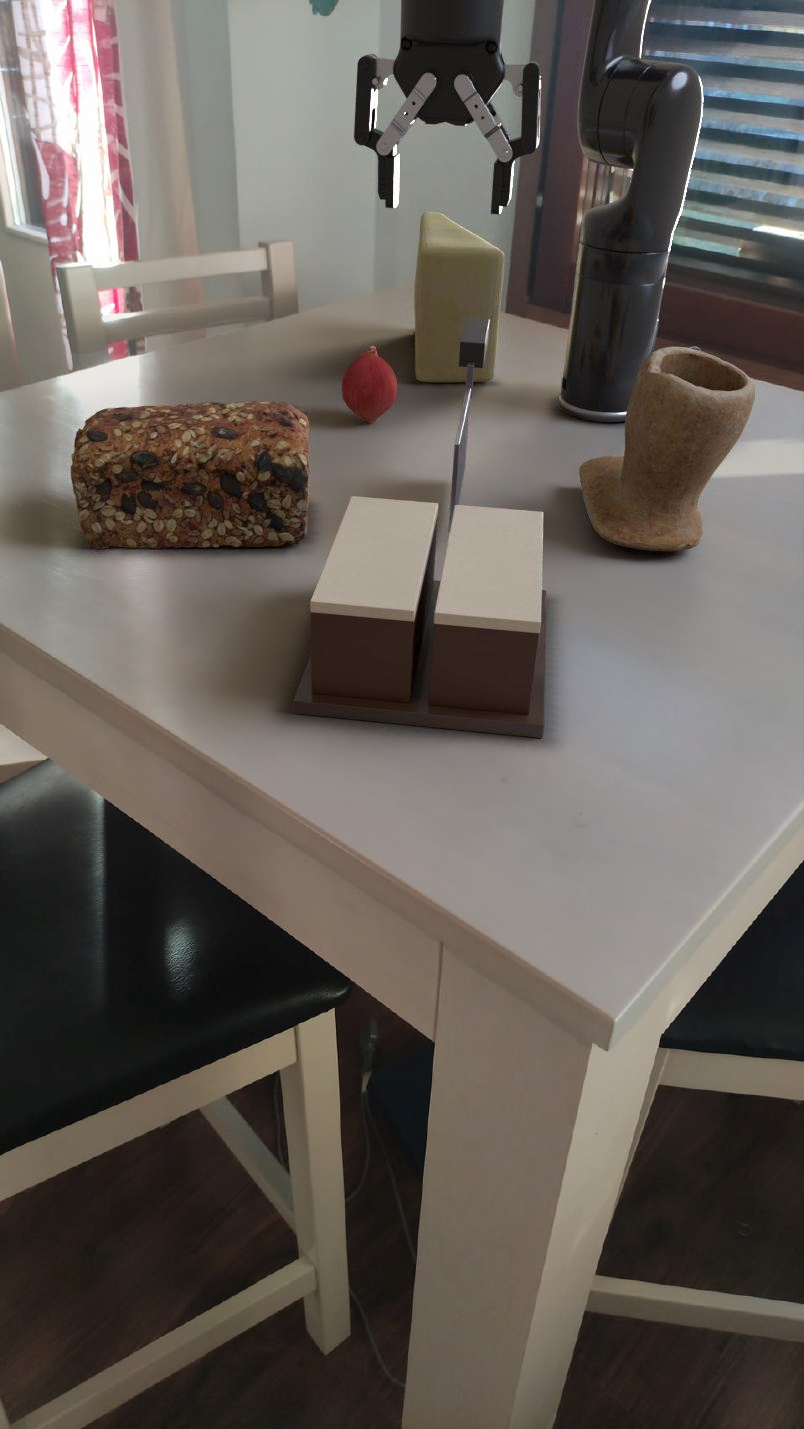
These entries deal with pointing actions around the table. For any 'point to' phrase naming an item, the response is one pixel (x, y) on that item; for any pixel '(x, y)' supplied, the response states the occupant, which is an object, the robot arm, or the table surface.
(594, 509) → the stone cup
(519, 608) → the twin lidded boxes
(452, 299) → the cheese
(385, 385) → the onion
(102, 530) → the bread
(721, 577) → the table surface
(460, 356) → the knife
